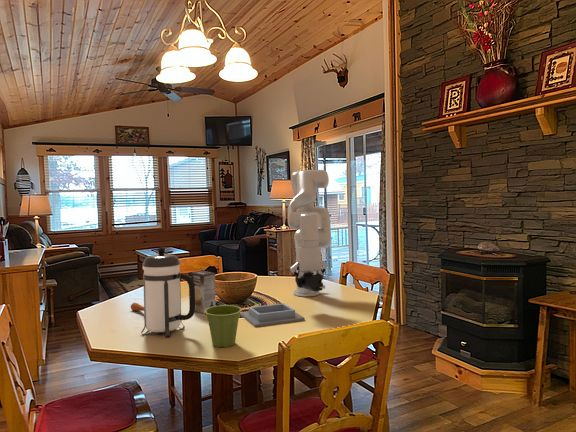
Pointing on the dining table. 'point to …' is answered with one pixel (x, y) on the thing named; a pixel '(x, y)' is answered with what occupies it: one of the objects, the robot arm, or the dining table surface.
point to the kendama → (137, 307)
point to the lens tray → (271, 315)
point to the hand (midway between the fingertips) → (309, 285)
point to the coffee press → (164, 293)
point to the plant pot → (223, 324)
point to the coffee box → (204, 290)
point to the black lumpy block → (311, 281)
